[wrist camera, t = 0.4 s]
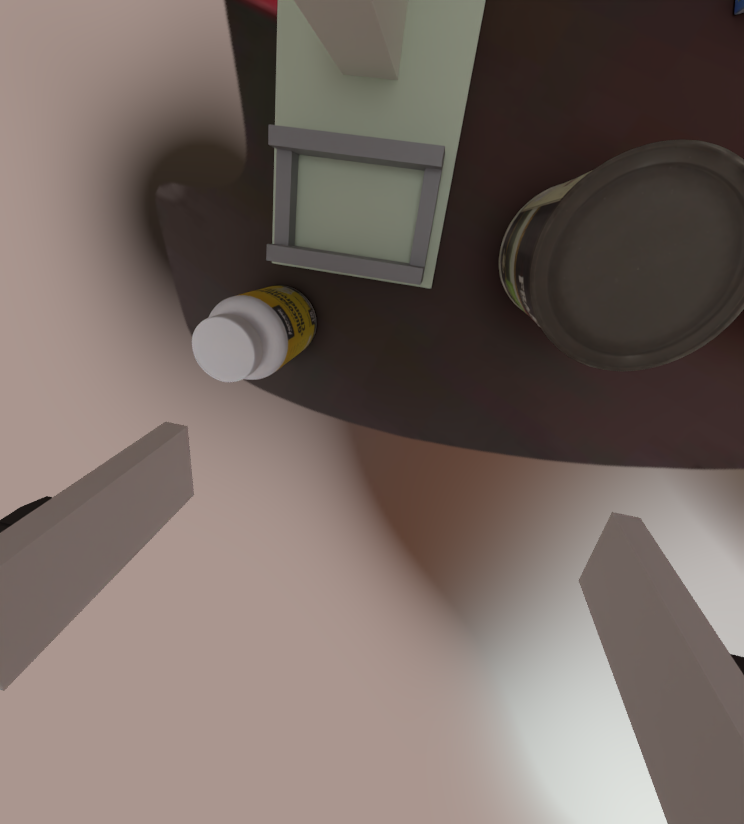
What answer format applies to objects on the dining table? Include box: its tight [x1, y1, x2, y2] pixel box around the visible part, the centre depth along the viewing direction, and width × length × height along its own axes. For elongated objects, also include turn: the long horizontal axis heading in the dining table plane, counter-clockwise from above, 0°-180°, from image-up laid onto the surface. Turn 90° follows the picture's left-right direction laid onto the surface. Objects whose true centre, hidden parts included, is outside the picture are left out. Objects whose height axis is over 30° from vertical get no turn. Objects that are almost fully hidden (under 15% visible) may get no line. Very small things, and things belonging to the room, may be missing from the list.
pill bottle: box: [192, 285, 317, 382], centre depth 32 cm, size 6×6×12 cm
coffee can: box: [499, 140, 744, 371], centre depth 25 cm, size 10×10×14 cm
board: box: [266, 0, 486, 289], centre depth 29 cm, size 20×14×4 cm
